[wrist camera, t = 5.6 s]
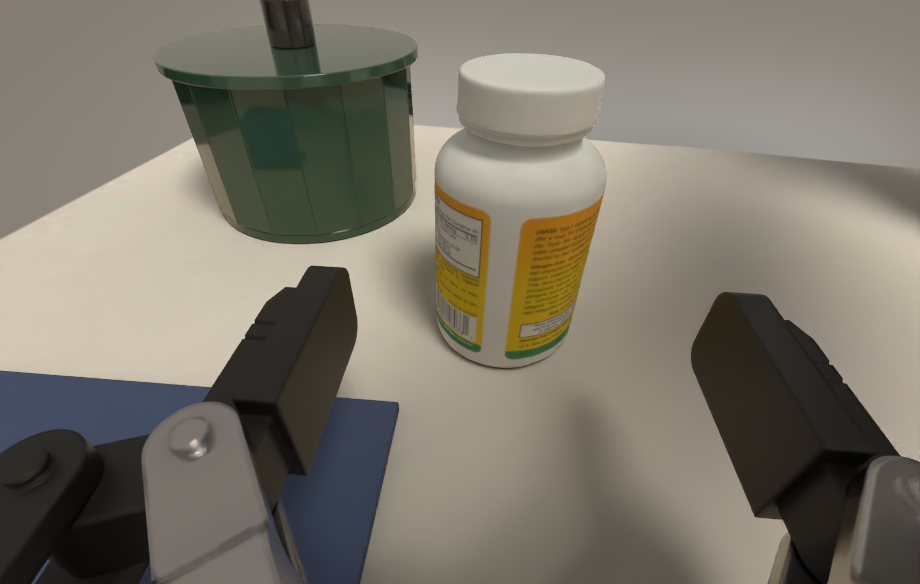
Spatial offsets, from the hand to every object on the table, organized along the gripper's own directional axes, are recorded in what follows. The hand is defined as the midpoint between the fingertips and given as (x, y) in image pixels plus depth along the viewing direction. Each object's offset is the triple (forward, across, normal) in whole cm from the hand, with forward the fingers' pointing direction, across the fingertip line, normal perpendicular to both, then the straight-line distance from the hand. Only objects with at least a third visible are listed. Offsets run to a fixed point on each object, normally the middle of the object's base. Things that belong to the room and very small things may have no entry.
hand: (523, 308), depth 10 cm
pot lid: (+16, +11, -2) cm, 20 cm away
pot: (+16, +11, +6) cm, 20 cm away
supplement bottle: (+6, 0, +6) cm, 8 cm away
